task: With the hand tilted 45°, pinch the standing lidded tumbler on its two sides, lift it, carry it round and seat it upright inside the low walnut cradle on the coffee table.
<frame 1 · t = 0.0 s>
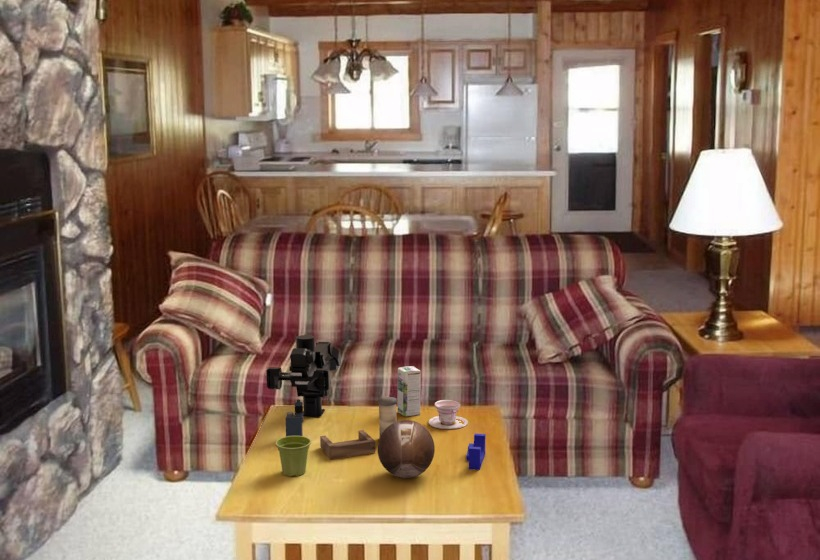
hand: (291, 387, 288), 17 cm above the table, tool horizontal, fingers open, 9 cm apart
vaping device: (295, 440, 293), on the table
cradle: (347, 450, 284), on the table
syrup box: (409, 413, 316), on the table
teacup: (448, 424, 307), on the table
lidded tumbler: (388, 439, 293), on the table
plant pot: (294, 473, 268), on the table
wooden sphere: (406, 476, 266), on the table
cable clip: (474, 462, 275), on the table
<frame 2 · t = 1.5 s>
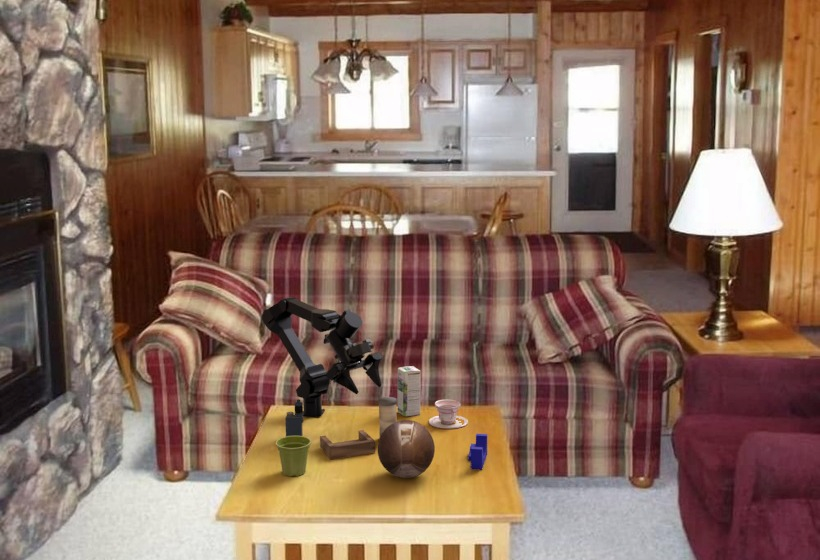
hand: (369, 389, 296), 13 cm above the table, tool tilted 45°, fingers open, 9 cm apart
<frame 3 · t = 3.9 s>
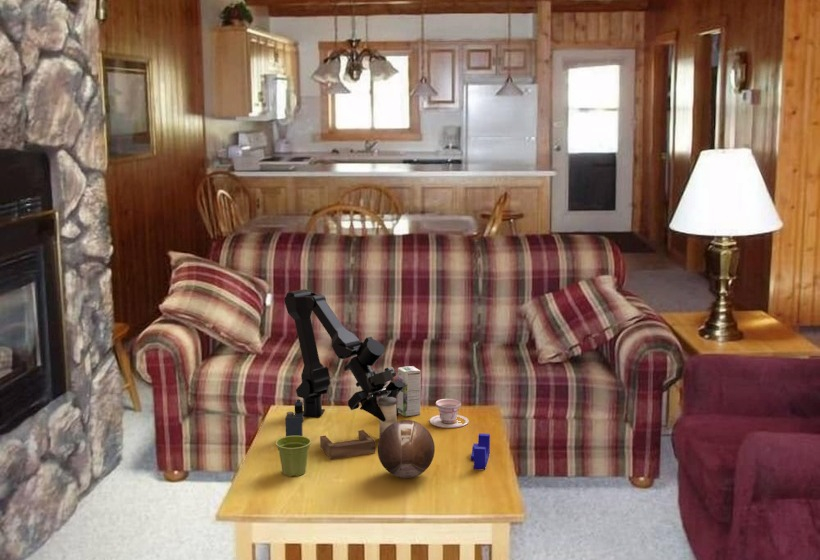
hand: (391, 418, 291), 7 cm above the table, tool tilted 45°, fingers closed on lidded tumbler, 5 cm apart
lidded tumbler: (388, 439, 293), on the table, touching gripper
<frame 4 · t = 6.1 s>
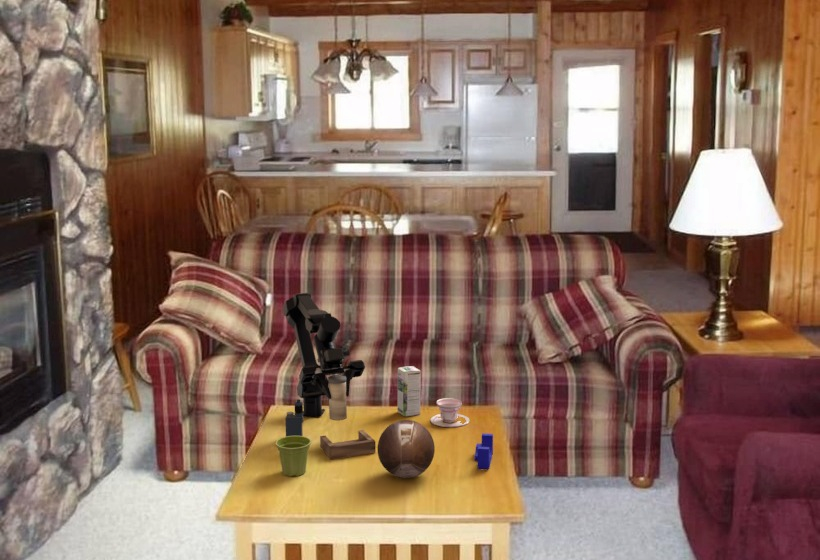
hand: (339, 397, 288), 14 cm above the table, tool tilted 45°, fingers closed on lidded tumbler, 5 cm apart
lidded tumbler: (338, 417, 291), point 7 cm above the table, touching gripper
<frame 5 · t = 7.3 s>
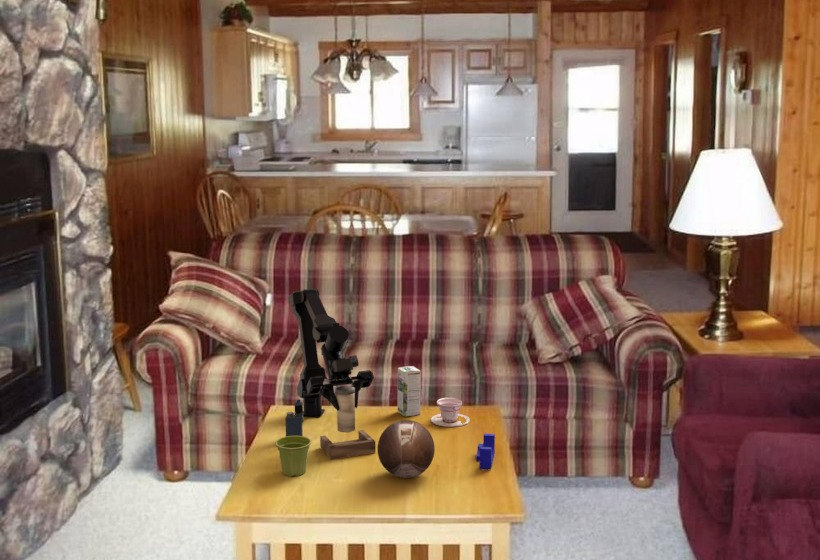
hand: (347, 408, 282), 12 cm above the table, tool tilted 45°, fingers closed on lidded tumbler, 5 cm apart
lidded tumbler: (346, 429, 284), point 6 cm above the table, touching gripper
when the fingers open (9 cm above the table, at t = 8.4 s): lidded tumbler drops 1 cm, resting on cradle.
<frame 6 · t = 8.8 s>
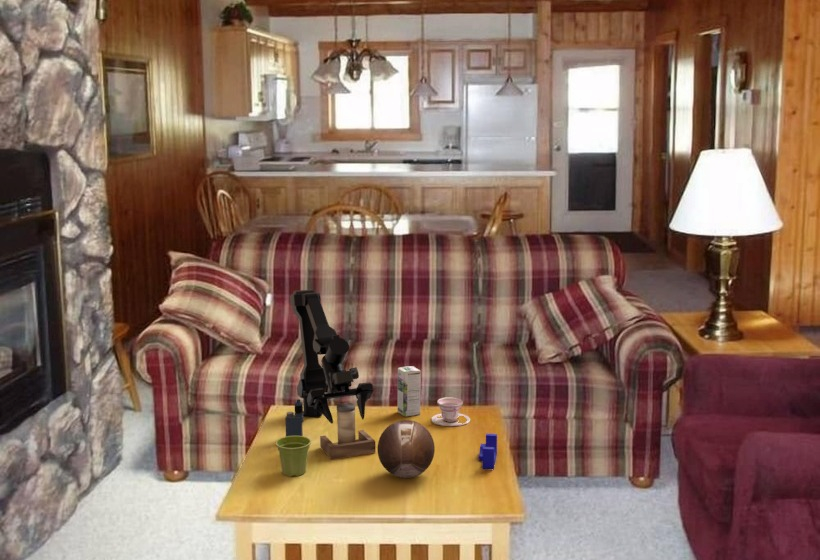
hand: (347, 420, 282), 9 cm above the table, tool tilted 45°, fingers open, 9 cm apart
lidded tumbler: (347, 446, 285), point 1 cm above the table, touching cradle
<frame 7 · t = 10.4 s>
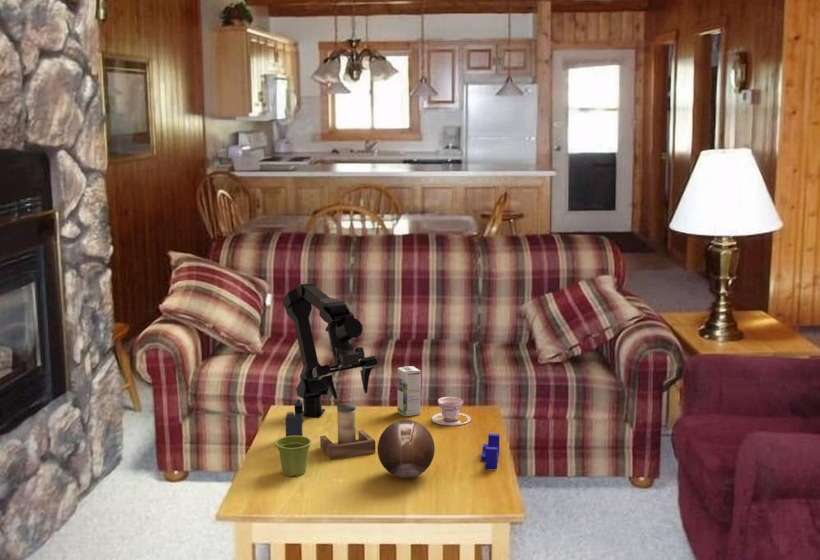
hand: (351, 396, 292), 13 cm above the table, tool tilted 20°, fingers open, 9 cm apart
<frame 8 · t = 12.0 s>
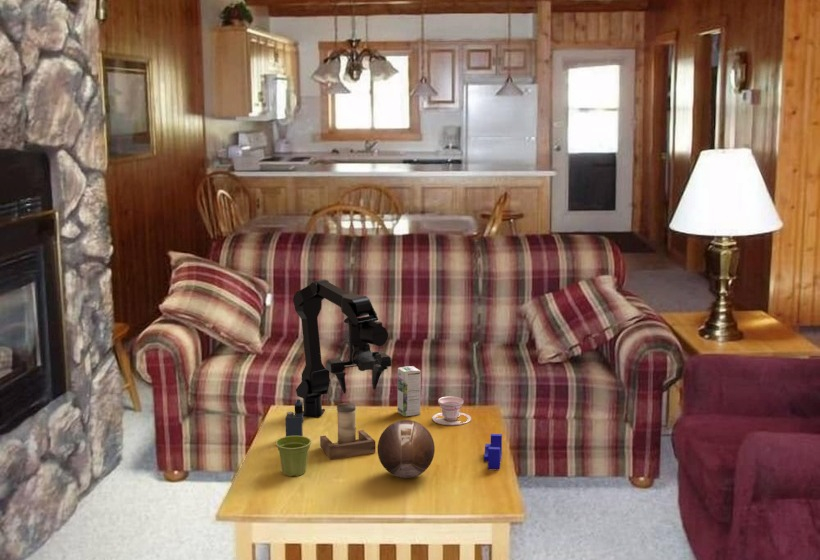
hand: (359, 391, 295), 13 cm above the table, tool pointing down, fingers open, 9 cm apart
at the end: lidded tumbler 0.8 cm from the cradle (horizontally); lidded tumbler tilted 1°; the gripper is holding nothing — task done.
